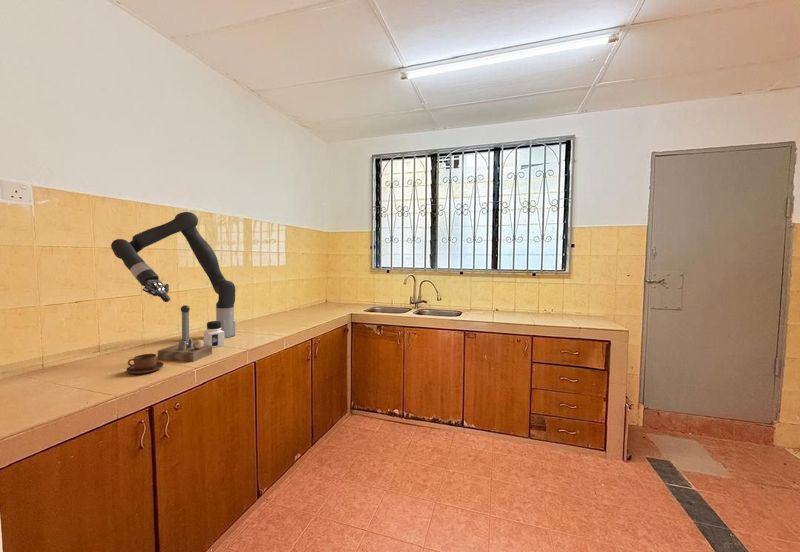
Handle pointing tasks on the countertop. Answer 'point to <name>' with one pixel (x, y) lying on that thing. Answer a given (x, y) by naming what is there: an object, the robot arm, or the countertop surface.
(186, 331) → the lever
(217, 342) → the container
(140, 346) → the countertop surface
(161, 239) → the robot arm
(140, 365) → the cup and saucer
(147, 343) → the countertop surface
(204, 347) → the bench block
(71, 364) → the countertop surface
